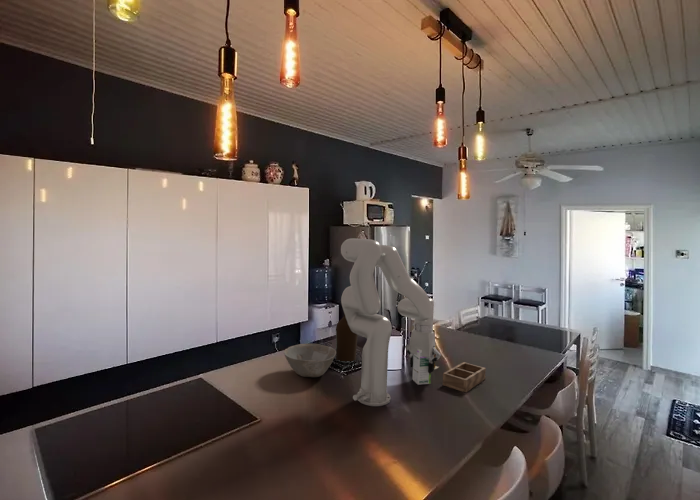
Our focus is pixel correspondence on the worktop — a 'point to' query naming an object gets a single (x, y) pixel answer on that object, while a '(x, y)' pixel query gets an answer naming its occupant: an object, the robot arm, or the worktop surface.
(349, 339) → the olive oil
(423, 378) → the syrup box
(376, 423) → the worktop surface
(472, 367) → the box
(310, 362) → the ceramic bowl
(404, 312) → the robot arm
